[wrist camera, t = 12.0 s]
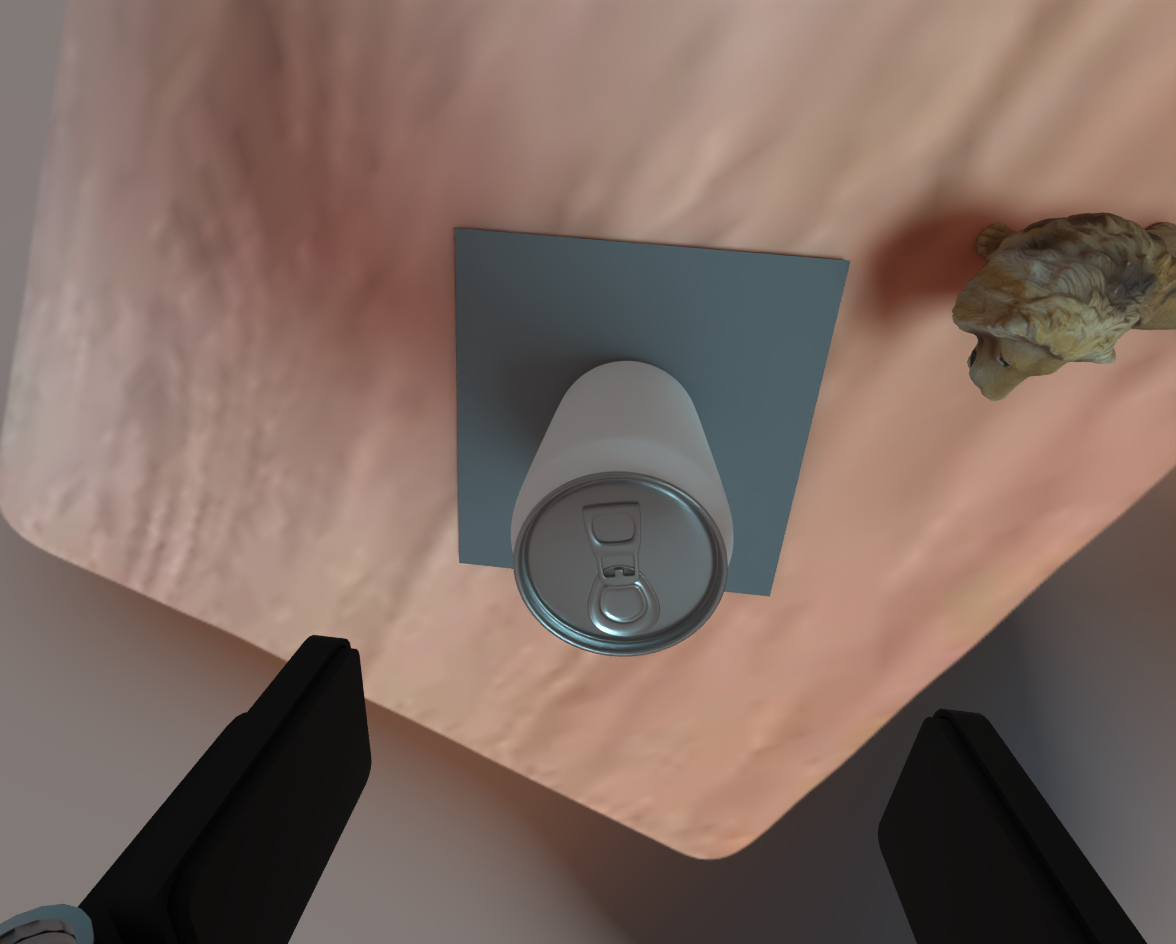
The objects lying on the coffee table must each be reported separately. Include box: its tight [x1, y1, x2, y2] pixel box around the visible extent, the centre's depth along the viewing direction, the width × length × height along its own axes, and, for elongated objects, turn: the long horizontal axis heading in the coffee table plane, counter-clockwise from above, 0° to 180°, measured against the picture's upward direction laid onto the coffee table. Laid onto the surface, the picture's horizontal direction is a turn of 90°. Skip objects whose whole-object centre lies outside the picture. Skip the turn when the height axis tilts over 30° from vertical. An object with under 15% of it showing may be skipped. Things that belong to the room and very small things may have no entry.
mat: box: [455, 228, 850, 596], centre depth 26 cm, size 16×16×1 cm
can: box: [511, 361, 733, 656], centre depth 20 cm, size 6×6×12 cm
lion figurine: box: [952, 213, 1176, 401], centre depth 18 cm, size 15×5×9 cm, turn 96°
